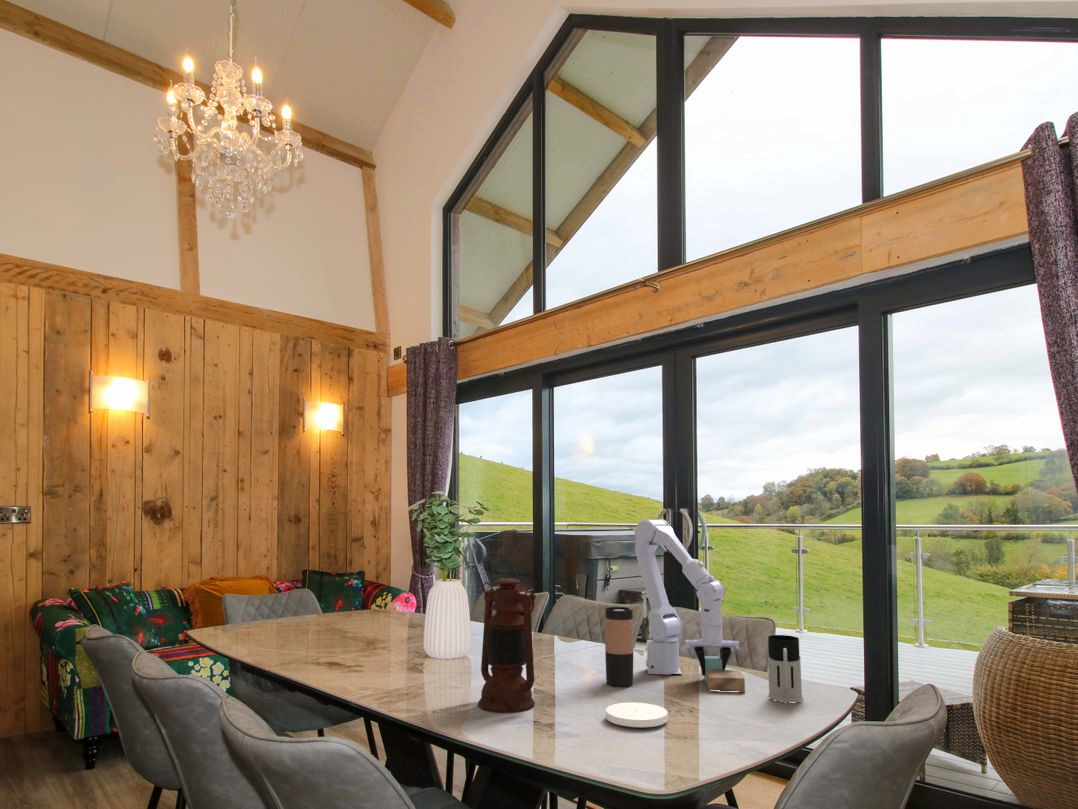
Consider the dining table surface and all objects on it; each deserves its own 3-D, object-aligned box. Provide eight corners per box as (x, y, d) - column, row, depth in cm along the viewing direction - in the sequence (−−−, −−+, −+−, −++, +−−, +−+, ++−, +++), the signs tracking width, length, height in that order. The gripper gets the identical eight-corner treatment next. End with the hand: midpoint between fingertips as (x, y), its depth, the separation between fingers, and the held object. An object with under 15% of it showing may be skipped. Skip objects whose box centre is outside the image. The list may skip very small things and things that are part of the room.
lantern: (461, 704, 181) (463, 579, 185) (500, 693, 192) (501, 574, 195) (514, 718, 170) (515, 584, 174) (552, 705, 180) (552, 579, 184)
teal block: (706, 682, 204) (705, 659, 205) (703, 678, 208) (703, 656, 209) (722, 682, 204) (722, 660, 204) (720, 678, 208) (719, 656, 209)
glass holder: (802, 695, 191) (800, 635, 192) (806, 710, 177) (804, 645, 179) (767, 693, 193) (765, 633, 195) (768, 707, 179) (766, 643, 181)
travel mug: (601, 685, 200) (600, 609, 202) (611, 679, 206) (611, 606, 209) (627, 689, 196) (627, 611, 199) (637, 683, 203) (636, 608, 205)
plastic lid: (627, 710, 178) (627, 699, 178) (679, 721, 169) (678, 709, 170) (593, 723, 167) (593, 711, 168) (647, 736, 159) (647, 724, 159)
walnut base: (709, 693, 194) (709, 677, 194) (706, 684, 203) (705, 669, 203) (745, 694, 193) (744, 678, 193) (740, 685, 202) (739, 670, 202)
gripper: (687, 626, 205) (688, 677, 203) (740, 627, 203) (742, 679, 202) (684, 622, 211) (685, 672, 210) (736, 623, 210) (737, 673, 209)
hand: (712, 675), depth 206 cm, fingers closed on teal block, 4 cm apart
